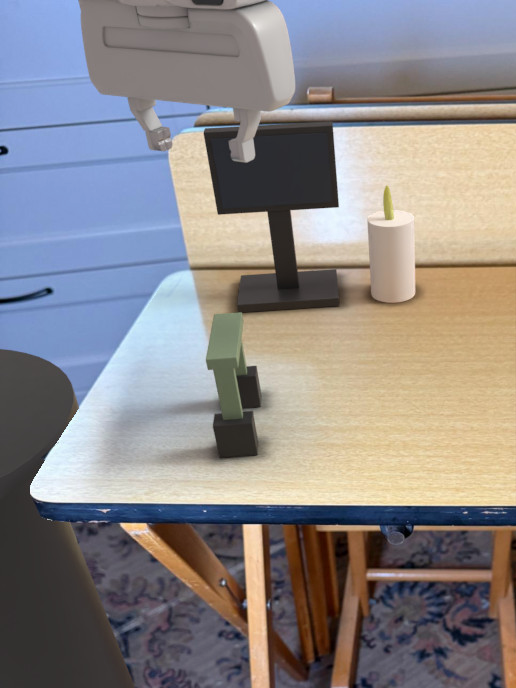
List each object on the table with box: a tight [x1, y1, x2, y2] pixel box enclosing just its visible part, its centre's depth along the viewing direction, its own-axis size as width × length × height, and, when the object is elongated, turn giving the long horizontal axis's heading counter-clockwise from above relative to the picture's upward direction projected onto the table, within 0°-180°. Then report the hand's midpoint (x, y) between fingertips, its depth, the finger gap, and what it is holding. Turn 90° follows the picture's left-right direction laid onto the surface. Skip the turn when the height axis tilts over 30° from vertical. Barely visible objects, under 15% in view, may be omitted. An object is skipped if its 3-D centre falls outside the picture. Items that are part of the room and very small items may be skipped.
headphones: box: [205, 312, 262, 459], centre depth 85 cm, size 4×12×11 cm, turn 5°
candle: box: [366, 185, 416, 304], centre depth 108 cm, size 6×6×15 cm
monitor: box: [203, 120, 340, 313], centre depth 106 cm, size 16×10×22 cm, turn 95°
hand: (201, 154), depth 74 cm, fingers open, 8 cm apart
